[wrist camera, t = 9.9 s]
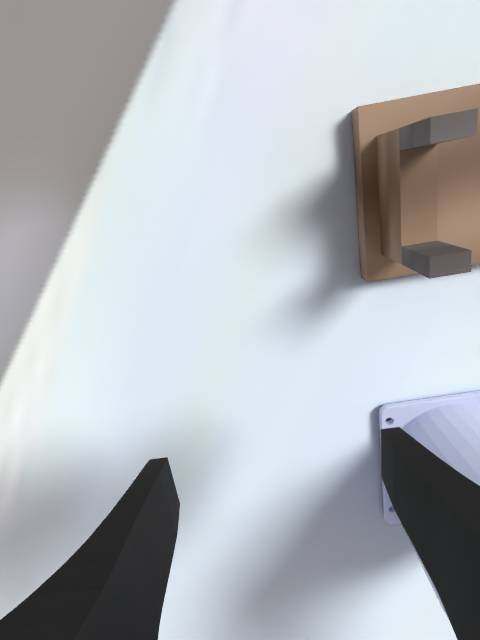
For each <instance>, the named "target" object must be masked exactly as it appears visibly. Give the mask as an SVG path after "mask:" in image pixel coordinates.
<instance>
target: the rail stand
mask: <svg viewBox="0 0 480 640" xmlns="http://www.w3.org/2000/svg"><path fill="white" fill-rule="evenodd" d="M352 128H353V145H354V162H355V179H356V196H357V213H358V230H359V247H360V264H361V278H363V279H364V280H365V281H367V282H371V281H377V280H383V279H389V278H395V277H402V276H408V275H414V274H422V275H424V276H426V277H428V278H435V277H441V276H447V275H453V274H460V273H466V272H471V265H475V264H480V84H476V85H470V86H465V87H460V88H454V89H449V90H444V91H438V92H433V93H428V94H423V95H417V96H412V97H407V98H401V99H396V100H391V101H385V102H380V103H375V104H369V105H364V106H359V107H357V108H355V109H354V110H352Z"/></svg>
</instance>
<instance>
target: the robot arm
mask: <svg viewBox="0 0 480 640" xmlns="http://www.w3.org/2000/svg"><path fill="white" fill-rule="evenodd" d="M387 418H391V419H390V420H389V421H386V419H387ZM379 427H380V447H381V468H382V488H383V509H384V519H385V521H386V523H387V524H388V525H401V524H402V525H403V527H404V529H405V531H406V534H407V536H408V538H409V540H410V542H411V544H412V546H413V548H414V550H415V552H416V554H417V556H418V558H419V561H420V563H421V565H422V567H423V569H424V571H425V573H426V575H427V577H428V579H429V581H430V583H431V585H432V588H433V590H434V592H435V594H436V596H437V598H438V600H439V602H440V604H441V606H442V608H443V610H444V612H445V613H446V615H447V617H448V618H449V620H450V623H451V625H452V627H453V630H454V632H455V634H456V637H457V639H458V640H480V391H474V392H467V393H460V394H453V395H446V396H440V397H433V398H426V399H419V400H412V401H405V402H398V403H391V404H386V405H383V406H382V407H381V408H380V409H379ZM392 506H393V507H392ZM179 508H180V502H179V498H178V495H177V491H176V487H175V484H174V480H173V477H172V473H171V469H170V466H169V462H168V458H159V459H151V460H149V461H148V463H147V464H146V465H145V467H144V468H143V469H142V471H141V472H140V473H139V475H138V476H137V478H136V479H135V480H134V482H133V483H132V484H131V486H130V487H129V488H128V490H127V491H126V493H125V494H124V495H123V496H122V498H121V499H120V500H119V502H118V503H117V504H116V506H115V507H114V508H113V510H112V511H111V512H110V513H109V515H108V516H107V517H106V518H105V519H104V521H103V522H102V523H101V524H100V525H99V527H98V528H97V529H96V530H95V531H94V533H93V534H92V535H91V536H90V537H89V538H88V539H87V541H86V542H85V543H84V544H83V545H82V546H81V547H80V548H79V549H78V550H77V551H76V552H75V553H74V554H73V555H72V556H71V557H70V558H69V560H68V561H67V562H66V563H65V564H64V565H63V566H62V567H61V568H59V569H58V570H57V571H56V572H55V573H54V574H53V575H52V576H51V577H50V578H49V579H48V580H46V581H45V582H44V583H43V584H42V585H41V586H40V587H39V588H38V589H37V590H36V591H34V592H33V593H32V594H31V595H30V596H29V597H28V598H27V599H25V600H24V601H23V602H22V603H21V604H19V605H18V606H17V607H16V608H15V609H13V610H12V611H11V612H10V613H9V614H7V615H6V616H5V617H4V618H2V619H1V620H0V640H158V632H159V624H160V618H161V612H162V607H163V602H164V597H165V592H166V587H167V583H168V578H169V573H170V568H171V563H172V558H173V553H174V548H175V543H176V538H177V531H178V521H179Z"/></svg>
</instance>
